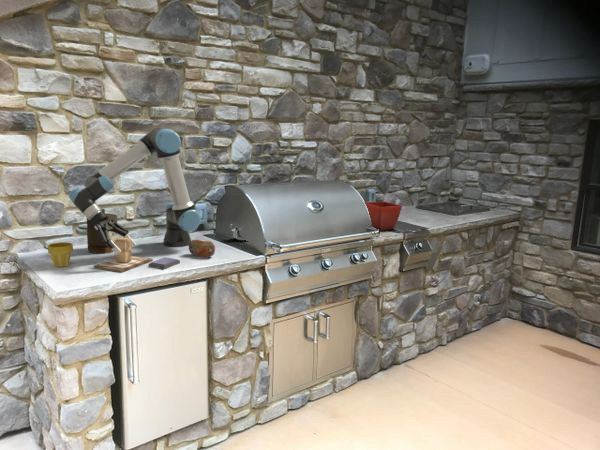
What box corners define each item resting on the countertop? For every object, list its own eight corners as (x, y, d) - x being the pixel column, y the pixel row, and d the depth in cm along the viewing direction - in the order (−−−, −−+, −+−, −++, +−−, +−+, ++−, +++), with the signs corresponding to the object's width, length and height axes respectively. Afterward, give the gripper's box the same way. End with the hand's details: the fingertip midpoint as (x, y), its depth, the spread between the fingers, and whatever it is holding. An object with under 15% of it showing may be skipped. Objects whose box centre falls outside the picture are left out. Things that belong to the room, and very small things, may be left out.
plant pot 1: (50, 262, 230) (49, 242, 228) (74, 261, 234) (73, 241, 232) (47, 268, 221) (46, 247, 219) (73, 267, 225) (71, 246, 223)
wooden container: (119, 252, 252) (117, 210, 248) (87, 254, 247) (85, 211, 242) (117, 245, 266) (116, 205, 261) (88, 247, 260) (85, 206, 256)
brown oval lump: (188, 254, 253) (188, 238, 252) (192, 253, 256) (192, 237, 254) (212, 258, 247) (212, 242, 245) (216, 257, 250) (216, 241, 248)
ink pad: (164, 260, 241) (164, 256, 240) (179, 262, 238) (179, 258, 237) (148, 266, 230) (148, 262, 229) (164, 269, 227) (164, 265, 226)
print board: (126, 256, 245) (126, 254, 245) (152, 260, 239) (152, 258, 239) (93, 267, 225) (93, 265, 225) (121, 272, 219) (121, 269, 219)
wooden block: (121, 259, 235) (121, 237, 233) (131, 260, 234) (130, 238, 232) (116, 262, 230) (115, 239, 228) (125, 263, 229) (124, 240, 227)
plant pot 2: (400, 229, 334) (402, 205, 331) (378, 232, 324) (380, 207, 321) (382, 224, 350) (384, 201, 347) (361, 226, 341) (362, 202, 337)
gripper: (106, 216, 243) (135, 248, 243) (74, 226, 219) (106, 261, 219) (115, 206, 241) (144, 238, 241) (84, 215, 217) (117, 250, 217)
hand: (126, 249), depth 230 cm, fingers open, 13 cm apart
